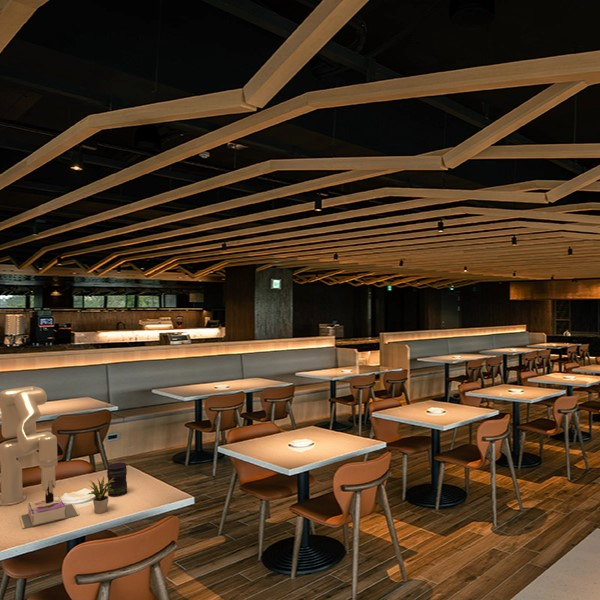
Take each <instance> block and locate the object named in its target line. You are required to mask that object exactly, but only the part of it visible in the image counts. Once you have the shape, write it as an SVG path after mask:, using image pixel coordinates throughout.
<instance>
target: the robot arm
mask: <svg viewBox="0 0 600 600" xmlns="http://www.w3.org/2000/svg"><path fill="white" fill-rule="evenodd" d="M47 401H48V397H47V392H46V391H45V390H44V389H43V388H41V387H39V386H34V385H33V386H31V385H30V386H23V387H15V388H8V389H4V390H2V391H0V413H1V414H0V415H1V417H0V418H1V426H0V427H1V435H2V437H3V438H4V439H8V440H5V441H3V442H1V443H0V486H1V488H0V490H1V498H0V506H3V507H4V506H5V507H7V506H13V505H18V504H21V503H23V502H24V501H26V500H27V496H26V495H25V494H23V490H24V489H23V467H22V463H21V462H20V461H19V460H18V459H17V458H21V457H24V456H29V455H32V454H34V453H35V451H38V457H39V458H38V460H39V461H38V463H39V465H38V466H39V468H40V469H41V470H40V473H41V478H40V479H41V480H40V481H41V482H40V486H41V487H42V490H43V491H45V494H44V495H45V497H44V499H45V502H46V504H48V503H52V502H54V489H56V467H57V466H58V465H59V464H58V437H57V436H56V435H55V434H53V433H52V432H51V431H43V432H38V433H37V421H38V420H39V419H40V418H41V411H40V409H39V407H38V406H42V405H45V404H46V403H47Z"/></svg>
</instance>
